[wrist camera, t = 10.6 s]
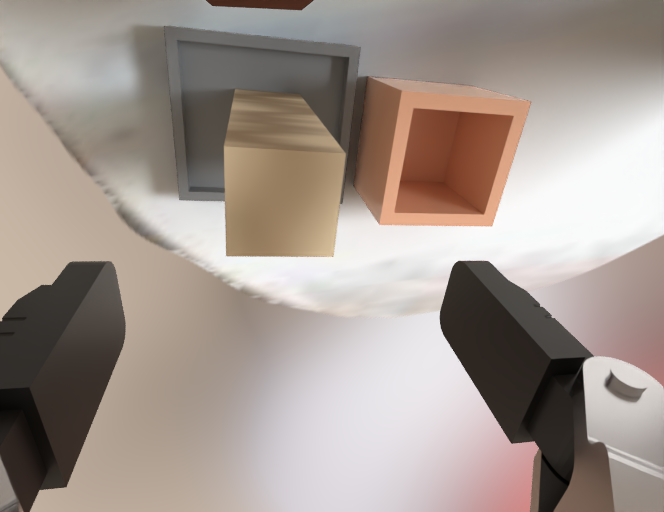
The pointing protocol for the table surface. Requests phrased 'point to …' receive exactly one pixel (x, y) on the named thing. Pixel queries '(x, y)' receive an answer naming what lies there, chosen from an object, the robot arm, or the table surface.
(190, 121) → the grey square tray
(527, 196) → the table surface
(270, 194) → the birch peg
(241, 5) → the ice cream bowl
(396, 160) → the orange open box
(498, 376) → the robot arm
